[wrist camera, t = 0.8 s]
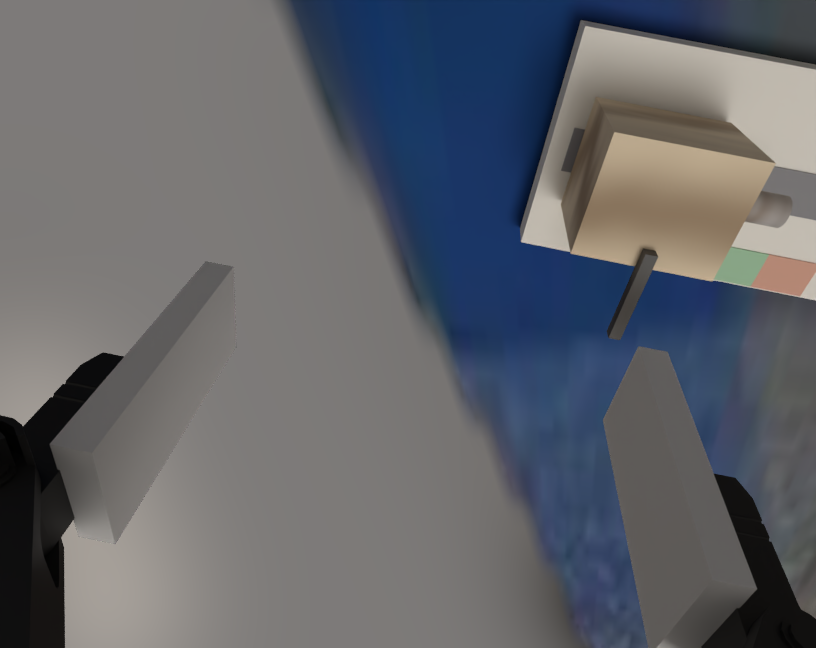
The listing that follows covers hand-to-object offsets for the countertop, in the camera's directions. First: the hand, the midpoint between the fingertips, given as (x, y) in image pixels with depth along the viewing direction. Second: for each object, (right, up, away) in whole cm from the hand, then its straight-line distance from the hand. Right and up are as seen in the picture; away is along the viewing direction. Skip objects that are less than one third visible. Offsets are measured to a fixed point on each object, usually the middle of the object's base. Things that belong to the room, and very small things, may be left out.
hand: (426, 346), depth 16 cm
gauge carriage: (+13, +7, +17) cm, 23 cm away
